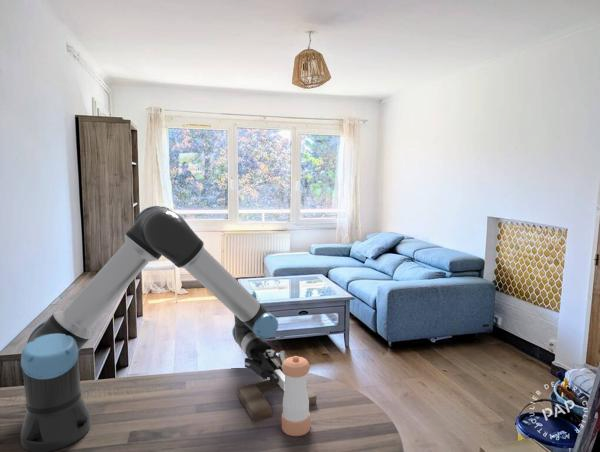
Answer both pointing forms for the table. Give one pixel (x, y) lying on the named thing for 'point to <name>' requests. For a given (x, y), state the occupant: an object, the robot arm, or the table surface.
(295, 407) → the salt shaker
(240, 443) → the table surface
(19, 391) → the table surface
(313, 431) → the table surface
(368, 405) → the table surface
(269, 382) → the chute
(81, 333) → the robot arm
